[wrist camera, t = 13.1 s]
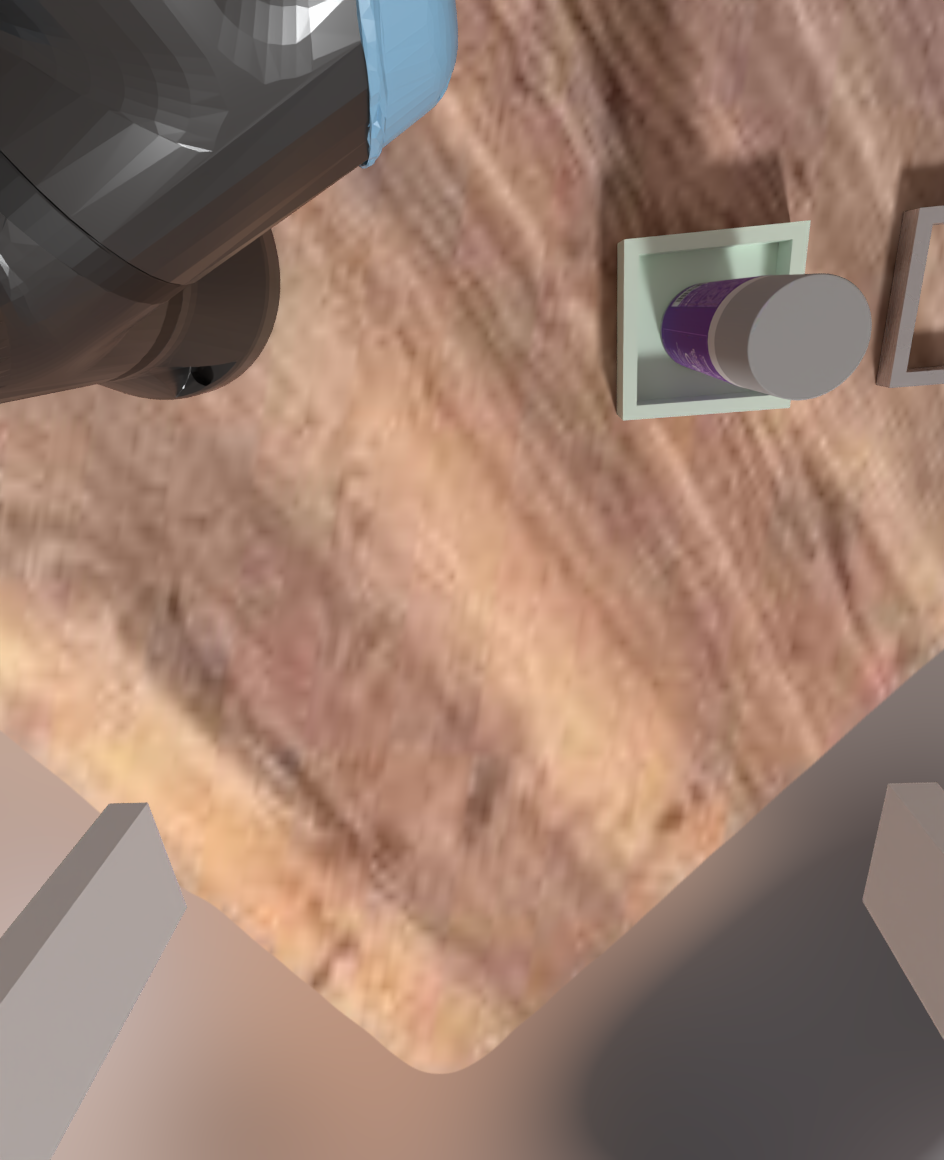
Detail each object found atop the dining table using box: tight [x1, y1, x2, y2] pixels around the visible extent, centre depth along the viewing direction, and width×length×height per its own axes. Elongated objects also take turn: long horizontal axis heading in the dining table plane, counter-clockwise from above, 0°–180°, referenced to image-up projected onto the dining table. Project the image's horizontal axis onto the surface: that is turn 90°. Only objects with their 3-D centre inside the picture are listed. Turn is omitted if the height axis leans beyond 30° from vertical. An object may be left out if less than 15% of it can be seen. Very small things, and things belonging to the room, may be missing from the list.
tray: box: [617, 220, 810, 420], centre depth 36 cm, size 10×10×2 cm
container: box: [660, 274, 872, 400], centre depth 30 cm, size 5×5×15 cm
